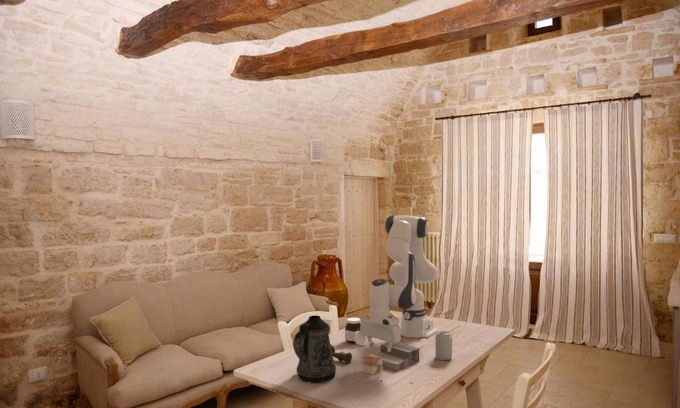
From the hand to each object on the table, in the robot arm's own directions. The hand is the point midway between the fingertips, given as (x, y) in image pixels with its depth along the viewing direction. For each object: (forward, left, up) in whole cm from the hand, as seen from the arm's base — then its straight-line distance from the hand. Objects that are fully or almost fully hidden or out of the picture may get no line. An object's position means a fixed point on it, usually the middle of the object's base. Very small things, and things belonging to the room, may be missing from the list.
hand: (379, 348), depth 208 cm
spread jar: (-19, -31, -9) cm, 37 cm away
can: (-29, +14, -9) cm, 34 cm away
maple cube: (+5, 0, -2) cm, 6 cm away
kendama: (+7, -23, -9) cm, 26 cm away
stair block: (-10, 0, -8) cm, 13 cm away
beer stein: (+27, -13, -9) cm, 31 cm away
